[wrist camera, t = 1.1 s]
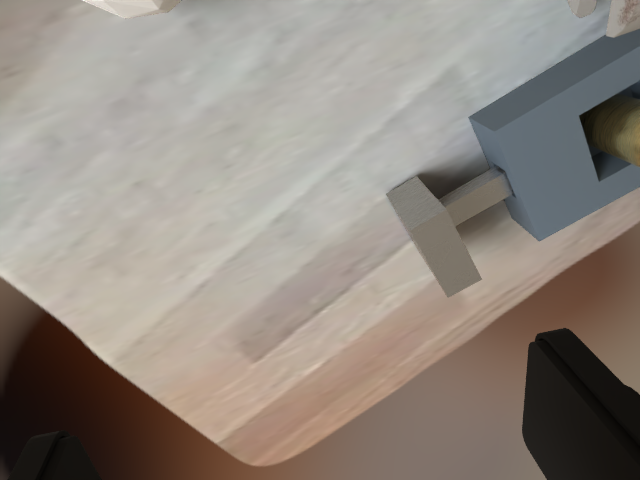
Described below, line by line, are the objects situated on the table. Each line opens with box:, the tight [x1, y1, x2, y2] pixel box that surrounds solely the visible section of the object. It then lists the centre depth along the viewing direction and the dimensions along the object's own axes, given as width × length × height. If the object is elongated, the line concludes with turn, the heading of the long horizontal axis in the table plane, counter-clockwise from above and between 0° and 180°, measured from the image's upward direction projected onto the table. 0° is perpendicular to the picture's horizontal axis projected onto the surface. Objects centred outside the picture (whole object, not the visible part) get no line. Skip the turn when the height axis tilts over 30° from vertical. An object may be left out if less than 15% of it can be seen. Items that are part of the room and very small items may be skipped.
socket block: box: [469, 29, 640, 241], centre depth 32 cm, size 12×9×4 cm
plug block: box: [386, 166, 514, 297], centre depth 32 cm, size 9×6×6 cm
